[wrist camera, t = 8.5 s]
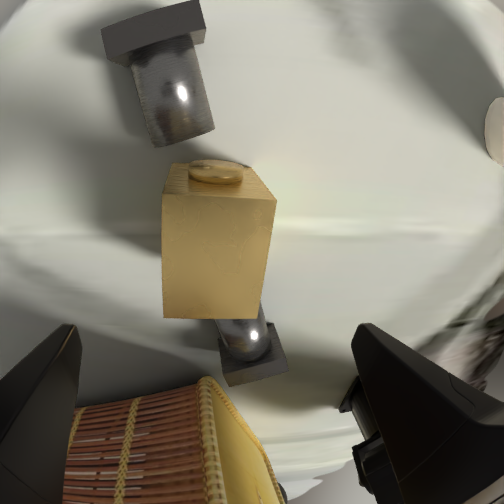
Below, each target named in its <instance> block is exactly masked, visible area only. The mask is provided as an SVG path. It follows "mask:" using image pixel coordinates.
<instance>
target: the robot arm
mask: <svg viewBox="0 0 504 504" xmlns="http://www.w3.org/2000/svg"><path fill="white" fill-rule="evenodd" d="M351 348H352V352H353V355H354V359H355V362H356V366H357V369H358V373H359V376H358V377H357V378H356V379H355V381H354V383H353V384H352V386H351V388H350V390H349V392H348V394H347V395H346V397H345V399H344V401H343V402H342V404H341V406H340V408H339V412H340V413H344V412H349V411H352V413H353V415H354V417H355V419H356V422H357V424H358V426H359V428H360V430H361V432H362V435H363V437H364V439H365V441H364V442H362V443H360V444H358V445H355V446H353V447H352V450H353V452H352V454H353V457H354V461H355V464H356V468H357V471H358V478H359V484H360V486H362V487H365V488H366V489H367V491H368V492H369V493H370V494H372V495H373V494H374V496H375V498H376V501H377V504H504V402H501V401H499V400H497V399H495V398H493V397H492V396H489V395H488V394H486V393H484V392H482V391H480V390H478V389H476V388H475V387H473V386H471V385H469V384H467V383H466V382H464V381H462V380H461V379H459V378H457V377H456V376H454V375H453V374H451V373H448V371H446V370H445V369H443V368H441V367H440V366H438V365H437V364H435V363H434V362H432V361H430V360H429V359H427V358H426V357H424V356H422V355H421V354H419V353H418V352H416V351H415V350H413V349H411V348H410V347H408V346H407V345H405V344H403V343H402V342H400V341H399V340H397V339H395V338H394V337H392V336H391V335H389V334H388V333H386V332H384V331H383V330H381V329H380V328H378V327H376V326H375V325H373V324H371V323H362V324H360V325H359V326H358V327H357V330H356V332H355V334H354V337H353V339H352V342H351ZM81 356H82V344H81V340H80V337H79V333H78V330H77V327H76V325H74V324H62V325H61V326H60V327H58V328H57V329H56V330H55V331H54V332H53V333H52V334H50V335H49V336H48V337H47V338H46V339H45V340H44V341H42V342H41V343H40V344H39V345H38V346H37V347H36V348H34V349H33V350H32V351H31V352H30V353H29V354H28V355H27V356H26V357H24V358H23V359H22V360H21V361H20V362H19V363H18V364H17V365H16V366H15V367H14V368H13V369H11V370H10V371H9V372H8V373H7V374H6V375H5V376H4V377H3V378H2V379H1V380H0V504H62V501H63V487H64V476H65V467H66V459H67V451H68V444H69V437H70V431H71V425H72V419H73V414H74V409H75V403H76V398H77V392H78V382H79V373H80V364H81Z"/></svg>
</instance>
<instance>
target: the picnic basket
mask: <svg viewBox="0 0 504 504" xmlns="http://www.w3.org/2000/svg"><path fill="white" fill-rule="evenodd" d="M62 504H285V502H284V499H283V496H282V494H281V491H280V488H279V486H278V483H277V480H276V478H275V475H274V472H273V469H272V467H271V464H270V462H269V459H268V457H267V455H266V453H265V451H264V449H263V447H262V445H261V443H260V442H259V440H258V439H257V437H256V436H255V435H254V433H253V432H252V431H251V429H250V428H249V426H248V425H247V424H246V422H245V421H244V419H243V418H242V417H241V415H240V414H239V412H238V411H237V409H236V408H235V407H234V405H233V404H232V402H231V401H230V399H229V398H228V396H227V395H226V393H225V392H224V390H223V389H222V387H221V386H220V385H219V384H218V382H217V381H216V380H215V379H214V378H212V377H211V376H204V377H202V378H201V379H199V380H198V383H196V384H193V385H189V386H185V387H181V388H177V389H173V390H168V391H164V392H160V393H155V394H151V395H146V396H141V397H137V398H132V399H127V400H121V401H116V402H111V403H105V404H99V405H93V406H86V407H80V408H75V409H74V414H73V419H72V425H71V431H70V437H69V444H68V451H67V459H66V467H65V476H64V487H63V501H62Z"/></svg>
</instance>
